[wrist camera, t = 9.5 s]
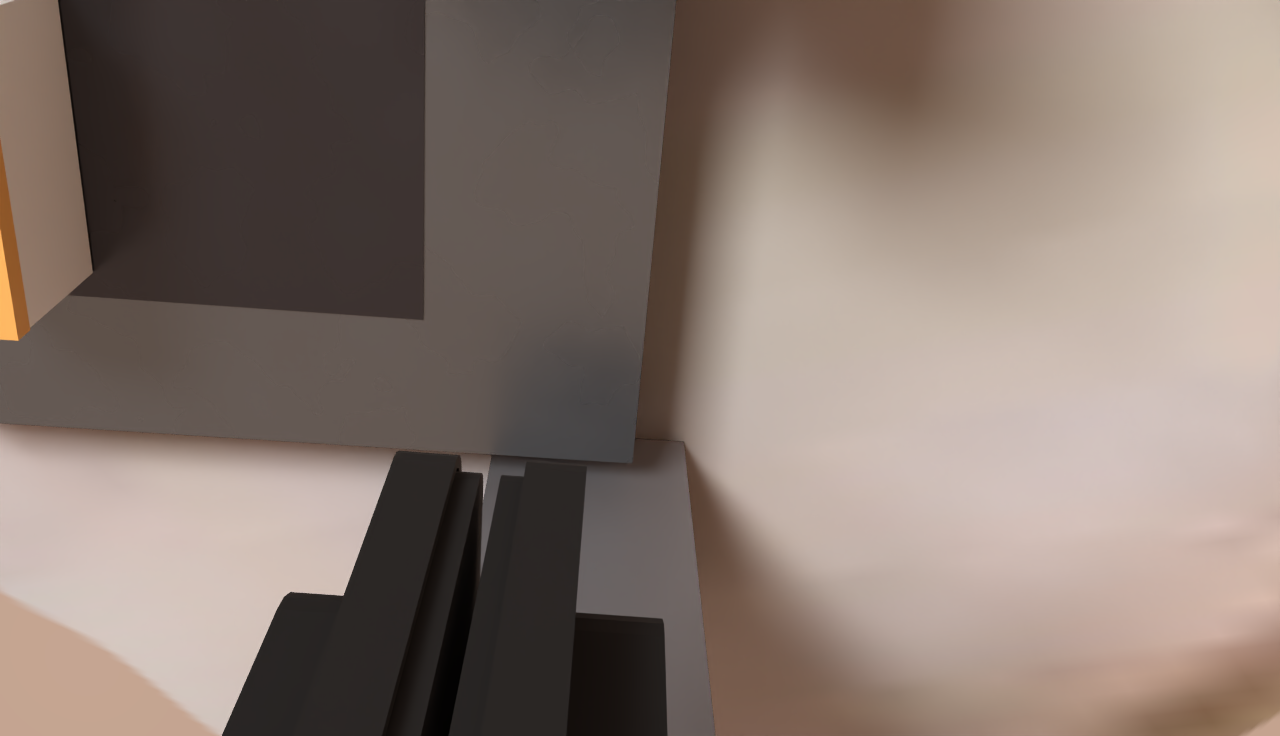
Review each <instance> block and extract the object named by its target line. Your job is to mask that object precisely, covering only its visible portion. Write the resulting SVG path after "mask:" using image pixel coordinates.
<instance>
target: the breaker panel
mask: <svg viewBox="0 0 1280 736" xmlns="http://www.w3.org/2000/svg"><path fill="white" fill-rule="evenodd" d="M58 5H59V13H60V21H61V29H62V36H63V44H64V52H65V60H66V68H67V75H68V83H69V91H70V99H71V106H72V114H73V122H74V130H75V138H76V145H77V153H78V161H79V169H80V176H81V184H82V192H83V200H84V208H85V215H86V223H87V231H88V239H89V247H90V254H91V262H92V270H93V273H92V274H91V275H90V276H89V277H88V278H86V279H85V280H84V281H83V282H82V283H81V284H80V285H78V286H77V287H76V288H75V289H74V290H73V291H72V292H70V293H69V294H68V295H67V296H66V297H65V298H64V299H62V300H61V301H60V302H59V303H58V304H57V305H56V306H54V307H53V308H52V309H51V310H50V311H49V312H48V313H47V314H45V315H44V316H43V317H42V318H41V319H40V320H39V321H37V322H36V323H35V324H34V325H33V326H32V327H31V328H30V331H29V332H28V333H27V334H25V335H24V336H23V337H22V338H21V339H20V340H19V341H15V340H0V423H5V424H20V425H36V426H52V427H67V428H83V429H99V430H115V431H130V432H146V433H162V434H177V435H193V436H209V437H224V438H240V439H256V440H272V441H287V442H303V443H319V444H334V445H350V446H366V447H381V448H397V449H413V450H429V451H444V452H460V453H476V454H491V455H507V456H523V457H538V458H554V459H570V460H586V461H601V462H617V463H633V453H634V443H635V432H636V421H637V411H638V400H639V389H640V379H641V368H642V358H643V347H644V336H645V326H646V315H647V305H648V294H649V283H650V273H651V262H652V252H653V241H654V230H655V220H656V209H657V199H658V188H659V177H660V167H661V156H662V146H663V135H664V124H665V114H666V103H667V93H668V82H669V71H670V61H671V50H672V40H673V29H674V18H675V8H676V0H58Z"/></svg>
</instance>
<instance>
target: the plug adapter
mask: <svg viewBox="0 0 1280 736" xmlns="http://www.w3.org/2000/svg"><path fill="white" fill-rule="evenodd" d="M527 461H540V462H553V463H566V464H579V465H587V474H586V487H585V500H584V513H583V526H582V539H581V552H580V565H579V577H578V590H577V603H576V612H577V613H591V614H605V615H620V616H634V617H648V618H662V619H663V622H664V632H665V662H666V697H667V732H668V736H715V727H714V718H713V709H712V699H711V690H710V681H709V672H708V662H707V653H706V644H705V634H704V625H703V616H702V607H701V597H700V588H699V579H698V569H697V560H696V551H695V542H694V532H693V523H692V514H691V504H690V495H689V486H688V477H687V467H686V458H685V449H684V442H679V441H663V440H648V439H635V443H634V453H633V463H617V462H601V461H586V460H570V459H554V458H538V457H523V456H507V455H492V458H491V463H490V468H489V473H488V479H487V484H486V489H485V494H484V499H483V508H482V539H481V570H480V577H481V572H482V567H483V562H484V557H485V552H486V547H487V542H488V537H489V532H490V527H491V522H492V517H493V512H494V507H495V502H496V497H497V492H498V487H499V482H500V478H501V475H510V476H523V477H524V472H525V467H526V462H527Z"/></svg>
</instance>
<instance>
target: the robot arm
mask: <svg viewBox="0 0 1280 736" xmlns="http://www.w3.org/2000/svg"><path fill="white" fill-rule="evenodd" d="M586 474H587V465H579V464H566V463H553V462H540V461H527V462H526V467H525V472H524V477H523V476H510V475H501V478H500V482H499V487H498V492H497V497H496V502H495V507H494V512H493V517H492V522H491V527H490V532H489V537H488V542H487V547H486V552H485V557H484V562H483V567H482V572H481V577H480V570H481V539H482V508H483V475H482V473H470V472H462V466H461V458H460V455H448V454H435V453H421V452H408V451H398V452H396V454H395V456H394V459H393V461H392V464H391V467H390V470H389V472H388V475H387V478H386V481H385V483H384V486H383V489H382V492H381V494H380V497H379V500H378V503H377V505H376V508H375V511H374V514H373V516H372V519H371V522H370V525H369V527H368V530H367V533H366V536H365V538H364V541H363V544H362V547H361V549H360V552H359V555H358V558H357V560H356V563H355V566H354V569H353V571H352V574H351V577H350V580H349V582H348V585H347V588H346V591H345V593H344V596H337V595H323V594H309V593H295V592H290V593H289V594H287V595H286V596H285V597H284V598H283V600H282V602H281V603H280V605H279V607H278V609H277V611H276V613H275V615H274V618H273V620H272V622H271V624H270V627H269V629H268V631H267V634H266V636H265V638H264V640H263V643H262V645H261V647H260V650H259V652H258V654H257V656H256V659H255V661H254V663H253V666H252V668H251V670H250V672H249V675H248V677H247V679H246V682H245V684H244V686H243V688H242V691H241V693H240V695H239V698H238V700H237V702H236V704H235V707H234V709H233V711H232V714H231V716H230V718H229V720H228V723H227V725H226V727H225V730H224V732H223V734H222V736H668V732H667V697H666V662H665V632H664V622H663V619H662V618H648V617H634V616H620V615H605V614H591V613H577V612H576V603H577V590H578V577H579V565H580V552H581V539H582V526H583V513H584V500H585V487H586Z"/></svg>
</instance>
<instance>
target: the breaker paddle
mask: <svg viewBox="0 0 1280 736" xmlns="http://www.w3.org/2000/svg"><path fill="white" fill-rule="evenodd" d="M92 273H93V270H92V262H91V254H90V247H89V239H88V231H87V223H86V215H85V208H84V200H83V192H82V184H81V176H80V169H79V161H78V153H77V145H76V138H75V130H74V122H73V114H72V106H71V99H70V91H69V83H68V75H67V68H66V60H65V52H64V44H63V36H62V29H61V21H60V13H59V5H58V0H0V340H15V341H19V340H20V339H21V338H22V337H23V336H24V335H25V334H27V333H28V332H29V331H30V328H31V327H32V326H33V325H34V324H35V323H36V322H37V321H39V320H40V319H41V318H42V317H43V316H44V315H45V314H47V313H48V312H49V311H50V310H51V309H52V308H53V307H54V306H56V305H57V304H58V303H59V302H60V301H61V300H62V299H64V298H65V297H66V296H67V295H68V294H69V293H70V292H72V291H73V290H74V289H75V288H76V287H77V286H78V285H80V284H81V283H82V282H83V281H84V280H85V279H86V278H88V277H89V276H90V275H91V274H92Z"/></svg>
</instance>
